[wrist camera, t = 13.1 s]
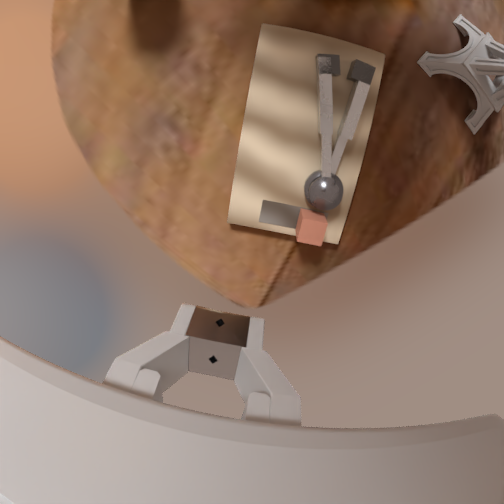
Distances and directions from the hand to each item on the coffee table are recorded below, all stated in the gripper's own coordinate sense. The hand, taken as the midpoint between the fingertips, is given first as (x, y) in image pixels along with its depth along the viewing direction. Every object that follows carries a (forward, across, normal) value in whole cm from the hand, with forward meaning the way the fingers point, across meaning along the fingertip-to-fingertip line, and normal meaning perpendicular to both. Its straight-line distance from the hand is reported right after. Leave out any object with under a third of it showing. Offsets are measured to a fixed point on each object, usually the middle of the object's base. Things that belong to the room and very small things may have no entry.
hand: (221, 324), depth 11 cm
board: (+29, -4, -5) cm, 30 cm away
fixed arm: (+27, -9, -6) cm, 29 cm away
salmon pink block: (+27, -7, +5) cm, 29 cm away
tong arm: (+27, -6, -6) cm, 29 cm away
